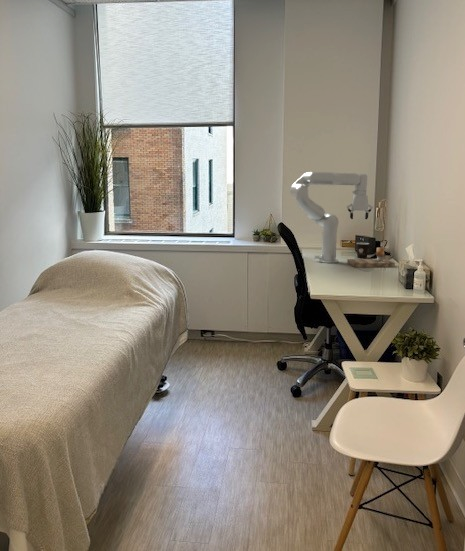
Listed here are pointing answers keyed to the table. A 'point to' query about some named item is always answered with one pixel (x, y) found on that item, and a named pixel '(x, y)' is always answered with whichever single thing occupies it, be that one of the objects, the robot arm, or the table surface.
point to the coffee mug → (363, 250)
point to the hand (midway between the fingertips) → (358, 219)
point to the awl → (380, 254)
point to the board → (370, 263)
